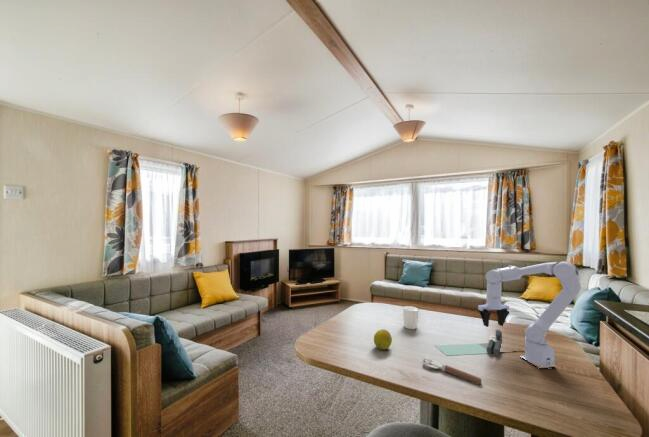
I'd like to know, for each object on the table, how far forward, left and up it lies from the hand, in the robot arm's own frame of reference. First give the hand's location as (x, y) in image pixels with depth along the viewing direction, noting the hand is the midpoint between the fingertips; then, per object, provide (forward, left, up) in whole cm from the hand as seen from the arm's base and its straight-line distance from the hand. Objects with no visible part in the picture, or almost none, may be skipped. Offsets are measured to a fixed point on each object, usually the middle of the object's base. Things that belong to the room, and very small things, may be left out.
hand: (493, 325), depth 125 cm
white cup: (+27, +27, -11) cm, 40 cm away
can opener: (0, -1, -11) cm, 11 cm away
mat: (0, +7, -10) cm, 12 cm away
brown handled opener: (-17, +33, -11) cm, 38 cm away
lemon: (+5, +51, -11) cm, 52 cm away
